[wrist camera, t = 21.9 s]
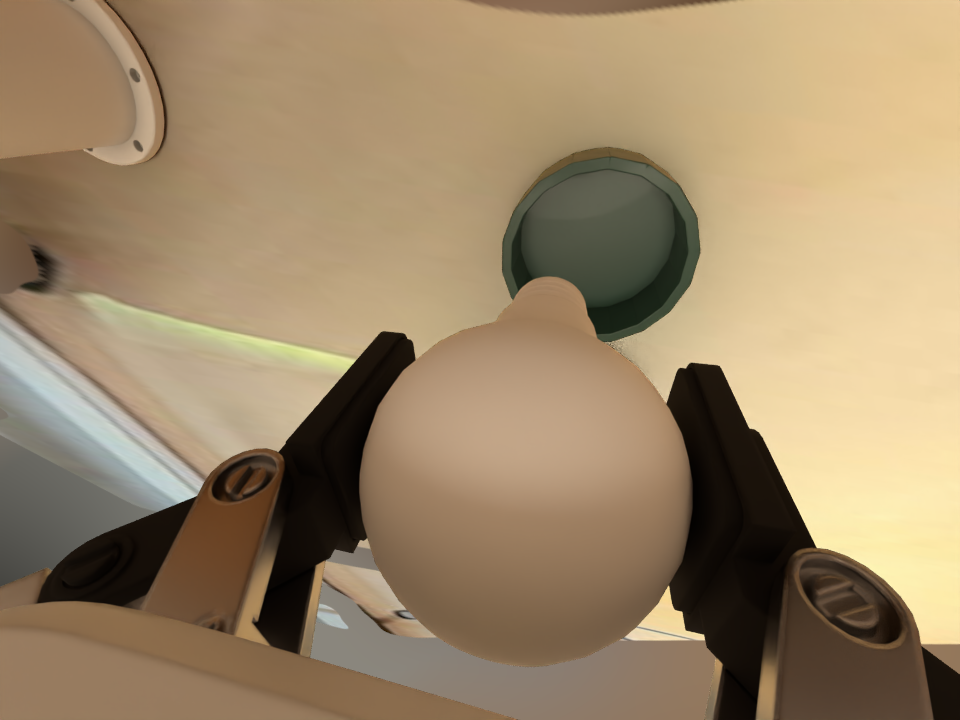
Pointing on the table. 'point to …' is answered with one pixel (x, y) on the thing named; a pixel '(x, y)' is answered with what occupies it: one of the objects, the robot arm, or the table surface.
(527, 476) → the lightbulb
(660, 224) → the tin
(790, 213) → the table surface
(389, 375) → the robot arm
